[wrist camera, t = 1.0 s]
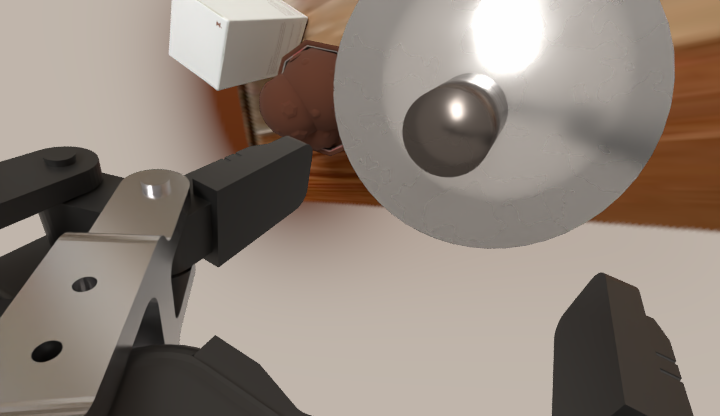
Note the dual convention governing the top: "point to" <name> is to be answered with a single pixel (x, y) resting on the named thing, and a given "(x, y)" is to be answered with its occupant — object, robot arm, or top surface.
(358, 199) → the top surface
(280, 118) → the ice cream bowl
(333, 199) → the top surface
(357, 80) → the cover
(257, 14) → the supplement box
